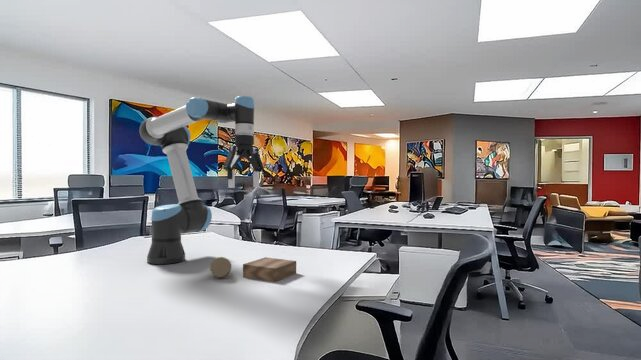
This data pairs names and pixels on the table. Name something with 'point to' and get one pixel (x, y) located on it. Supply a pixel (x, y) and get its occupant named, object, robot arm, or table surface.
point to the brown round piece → (220, 267)
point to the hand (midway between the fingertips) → (244, 187)
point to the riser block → (269, 269)
